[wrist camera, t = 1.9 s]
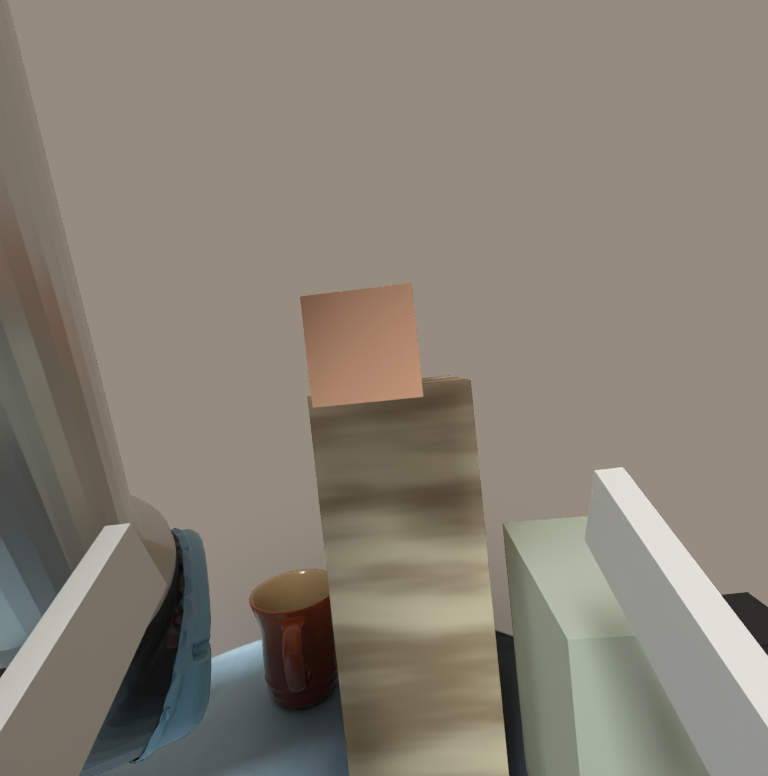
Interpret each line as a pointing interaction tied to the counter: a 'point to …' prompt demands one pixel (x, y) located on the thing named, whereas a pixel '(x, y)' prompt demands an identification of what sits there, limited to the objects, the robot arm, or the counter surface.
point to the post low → (584, 665)
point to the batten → (362, 346)
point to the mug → (297, 637)
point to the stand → (410, 584)
